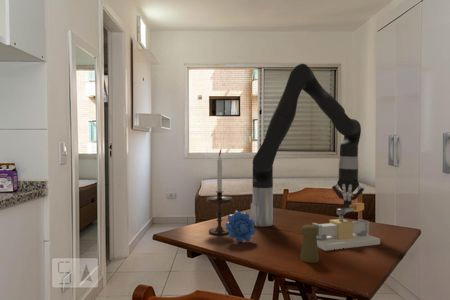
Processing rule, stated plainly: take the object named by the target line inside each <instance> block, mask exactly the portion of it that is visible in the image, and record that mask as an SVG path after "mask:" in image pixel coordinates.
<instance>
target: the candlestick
mask: <svg viewBox="0 0 450 300" xmlns="http://www.w3.org/2000/svg"><path fill="white" fill-rule="evenodd" d="M221 154H222V149H220V150H219V153H218V159H217V160H216V161H217V163H216V164H217V167H216V169H217V172H216V174H217V175H216V176H217V177H216V178H217V180H216V181H217V182H216V183H217V186H216V189H217V190H216V191H214V193H216V195H214V196H207V197H206V202H208V203H214V204H216V205H217V212H216V218H217V219H216V222H217V226H216V227H213V228H209V229H208V234H209V235H211V236H227V235H229V231H231V230H228V229H227V228H226V227H223V226H222V222H223V219H222V217H223V216H224V213H223V212H222V205H223V204H225V203H226V204H227V203H231V202H233V197H232V196H225V195H223V193H224V192H225V191H223V188H222V187H223V185H222V184H223V159H222V158H221Z"/></svg>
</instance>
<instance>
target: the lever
mask: <svg viewBox="0 0 450 300" xmlns="http://www.w3.org/2000/svg"><path fill="white" fill-rule="evenodd" d="M364 210H365V203H364V202H354V203H352V204H350V205H349V207H348V208H344V207H343V208H341V207H340V208H336V215H337V216H339V215H343V216H345V215H346V214H347V213H349V212H354V213H355V212H356V213H358V212H360V211H364Z"/></svg>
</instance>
